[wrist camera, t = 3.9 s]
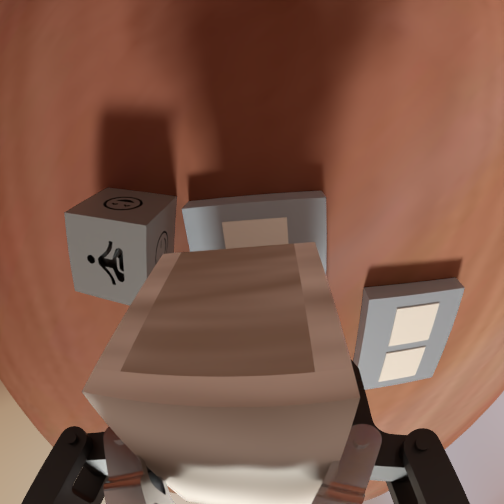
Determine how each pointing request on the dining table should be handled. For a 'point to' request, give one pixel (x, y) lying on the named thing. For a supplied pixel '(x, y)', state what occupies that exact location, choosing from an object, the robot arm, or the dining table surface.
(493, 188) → the dining table surface
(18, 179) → the dining table surface
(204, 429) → the cream block
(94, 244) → the dice cube
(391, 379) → the board
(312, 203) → the grey piece
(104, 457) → the robot arm
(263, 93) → the dining table surface
